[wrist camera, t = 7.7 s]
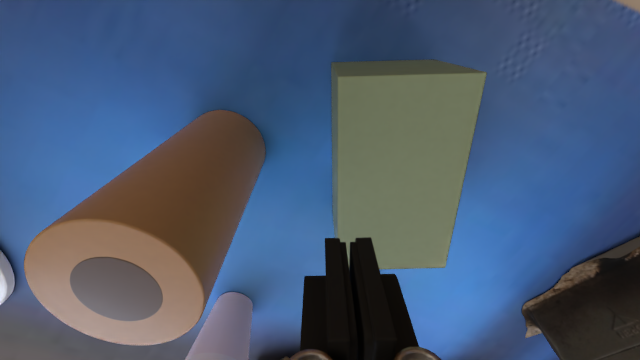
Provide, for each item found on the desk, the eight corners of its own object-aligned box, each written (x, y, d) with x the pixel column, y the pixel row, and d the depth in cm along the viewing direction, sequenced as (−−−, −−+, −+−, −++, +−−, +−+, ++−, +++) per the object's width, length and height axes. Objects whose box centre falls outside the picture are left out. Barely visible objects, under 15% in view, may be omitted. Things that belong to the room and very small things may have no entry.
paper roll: (229, 169, 27) (10, 269, 16) (217, 101, 24) (-57, 166, 13) (356, 210, 20) (128, 429, 9) (359, 123, 17) (42, 289, 7)
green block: (332, 211, 26) (337, 270, 19) (331, 62, 20) (337, 76, 14) (414, 209, 26) (445, 267, 19) (434, 59, 20) (487, 72, 14)
